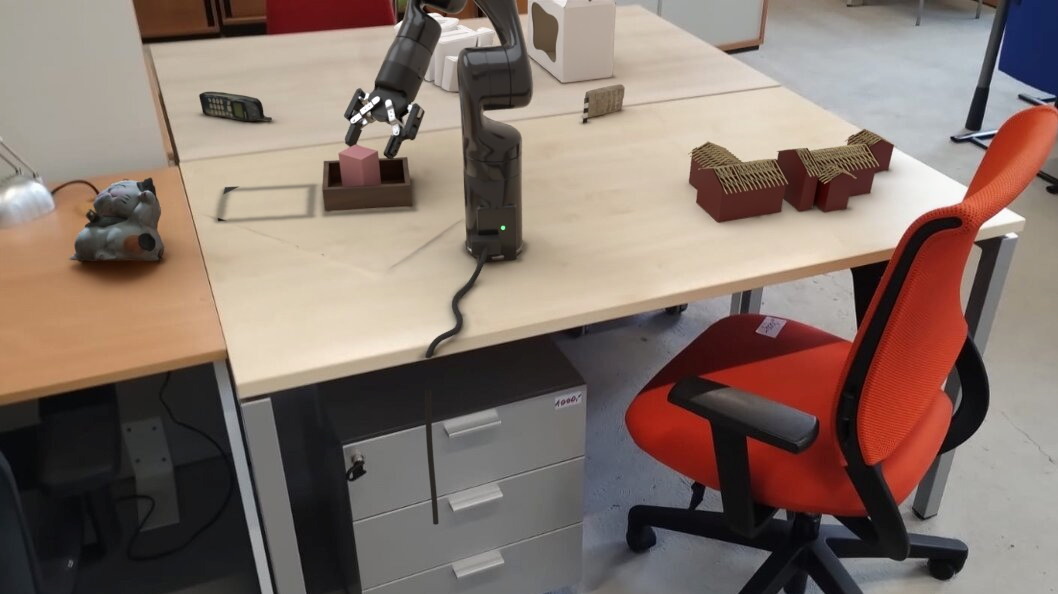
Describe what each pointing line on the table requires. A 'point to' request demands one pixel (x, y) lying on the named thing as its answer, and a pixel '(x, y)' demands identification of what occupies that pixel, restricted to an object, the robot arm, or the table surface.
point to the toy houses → (786, 177)
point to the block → (359, 166)
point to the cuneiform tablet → (603, 101)
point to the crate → (368, 187)
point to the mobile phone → (232, 106)
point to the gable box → (572, 37)
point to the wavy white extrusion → (452, 49)
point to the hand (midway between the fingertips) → (368, 151)
